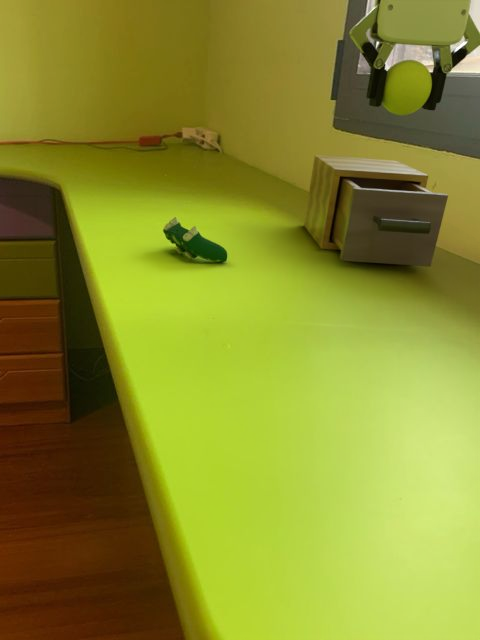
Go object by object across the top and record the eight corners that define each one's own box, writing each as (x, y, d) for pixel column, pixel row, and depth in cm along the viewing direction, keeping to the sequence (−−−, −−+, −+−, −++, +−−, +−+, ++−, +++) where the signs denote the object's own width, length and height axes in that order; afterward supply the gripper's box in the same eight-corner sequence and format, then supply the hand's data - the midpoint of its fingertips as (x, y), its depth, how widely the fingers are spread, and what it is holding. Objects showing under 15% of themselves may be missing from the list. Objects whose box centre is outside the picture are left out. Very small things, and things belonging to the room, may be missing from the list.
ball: (416, 115, 87) (428, 61, 84) (432, 118, 82) (444, 61, 79) (369, 112, 87) (379, 58, 84) (381, 115, 82) (392, 58, 79)
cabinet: (410, 254, 98) (428, 175, 93) (321, 248, 98) (334, 168, 93) (381, 231, 112) (396, 160, 107) (303, 225, 112) (314, 155, 107)
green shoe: (180, 260, 95) (153, 230, 91) (198, 239, 95) (173, 208, 91) (212, 278, 88) (185, 247, 84) (232, 256, 87) (206, 223, 84)
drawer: (442, 276, 85) (461, 201, 81) (348, 270, 85) (363, 195, 81) (399, 240, 102) (413, 177, 98) (320, 235, 102) (331, 172, 98)
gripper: (501, -62, 79) (460, 110, 87) (351, -72, 79) (325, 101, 87) (531, -74, 72) (483, 114, 81) (368, -85, 72) (337, 105, 81)
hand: (401, 106), depth 84 cm, fingers closed on ball, 5 cm apart
